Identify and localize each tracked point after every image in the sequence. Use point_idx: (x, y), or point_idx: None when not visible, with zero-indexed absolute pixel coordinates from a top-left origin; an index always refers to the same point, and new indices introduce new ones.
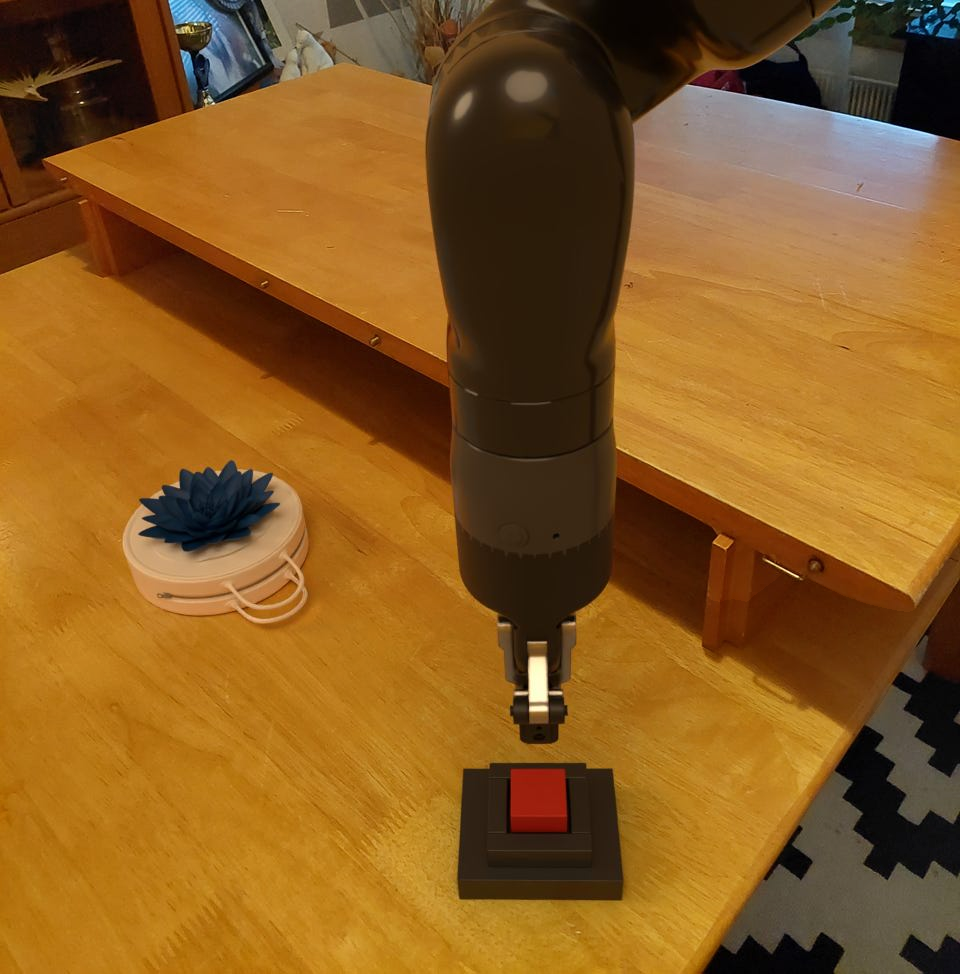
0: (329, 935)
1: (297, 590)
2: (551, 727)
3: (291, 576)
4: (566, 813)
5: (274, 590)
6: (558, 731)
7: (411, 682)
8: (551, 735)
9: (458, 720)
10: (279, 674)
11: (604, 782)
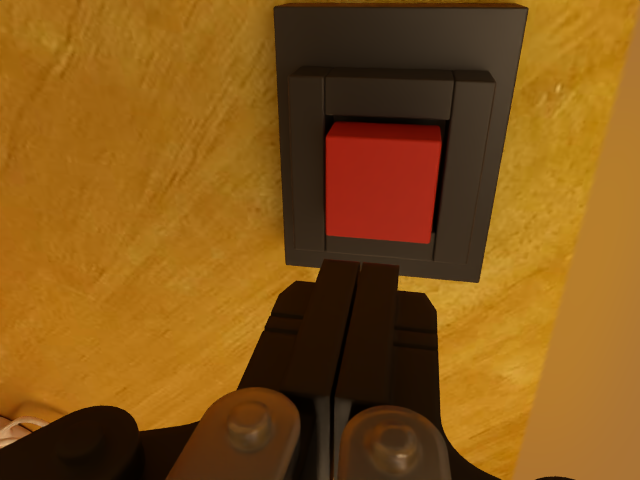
0: (498, 390)
1: None
2: (437, 358)
3: (5, 430)
4: (434, 142)
5: None
6: (396, 285)
7: (131, 299)
8: (436, 330)
9: (183, 243)
10: (149, 429)
11: (307, 27)
